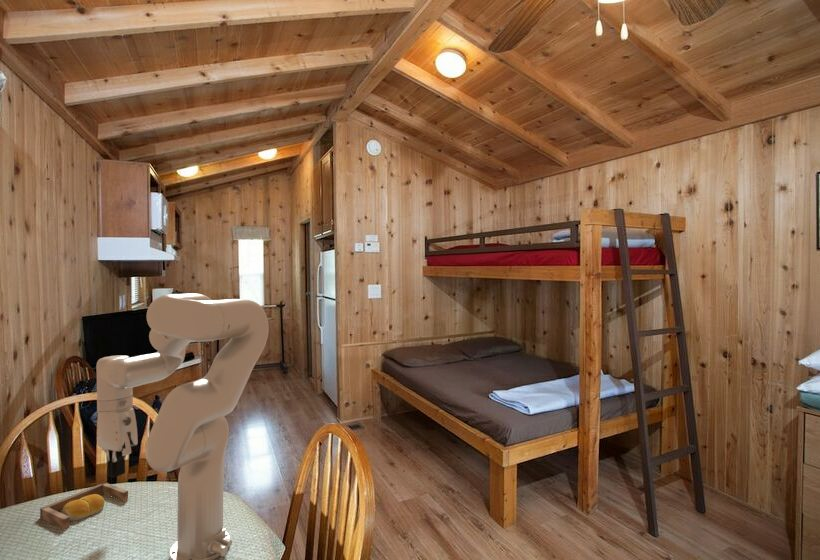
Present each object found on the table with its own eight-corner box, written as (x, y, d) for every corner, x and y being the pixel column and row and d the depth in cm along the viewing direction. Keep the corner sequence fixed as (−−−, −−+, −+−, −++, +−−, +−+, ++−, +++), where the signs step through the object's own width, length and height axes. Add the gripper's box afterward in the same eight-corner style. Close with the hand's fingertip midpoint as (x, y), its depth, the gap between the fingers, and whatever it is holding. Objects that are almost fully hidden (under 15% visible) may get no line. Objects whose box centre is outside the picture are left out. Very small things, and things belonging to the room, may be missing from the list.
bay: (128, 499, 117) (128, 490, 117) (63, 529, 103) (63, 519, 103) (104, 490, 122) (104, 482, 122) (40, 517, 108) (40, 508, 108)
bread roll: (110, 508, 113) (110, 493, 113) (71, 525, 105) (71, 509, 105) (94, 500, 117) (94, 486, 117) (55, 516, 109) (56, 501, 109)
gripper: (148, 402, 107) (149, 473, 107) (113, 397, 114) (114, 464, 113) (117, 411, 100) (118, 487, 100) (82, 405, 107) (83, 476, 107)
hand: (116, 475), depth 107 cm, fingers closed
